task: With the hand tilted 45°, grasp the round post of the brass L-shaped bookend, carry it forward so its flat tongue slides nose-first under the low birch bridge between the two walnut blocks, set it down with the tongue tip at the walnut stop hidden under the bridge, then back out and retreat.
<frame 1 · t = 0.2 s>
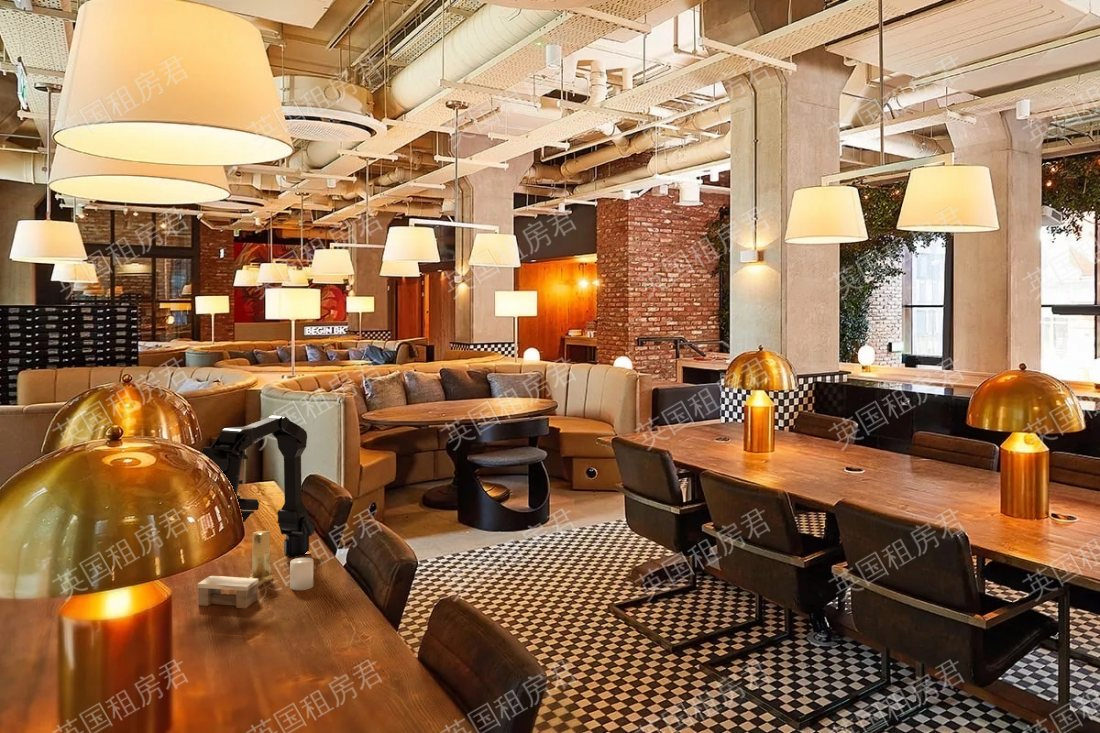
hand: (219, 534, 199), 15 cm above the table, fingers open, 9 cm apart
bridge: (244, 590, 200), on the table
white cylinder: (301, 586, 204), on the table
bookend: (261, 579, 209), on the table
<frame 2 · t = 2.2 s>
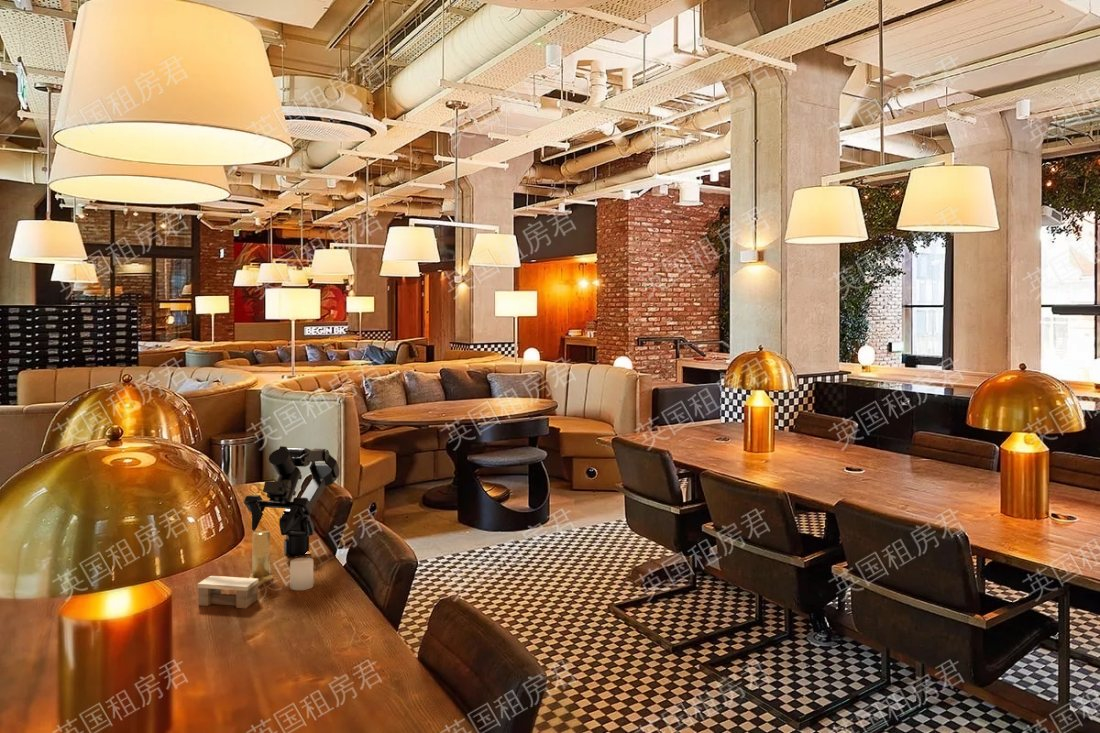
hand: (268, 531, 212), 12 cm above the table, fingers open, 9 cm apart
nothing on the table moved.
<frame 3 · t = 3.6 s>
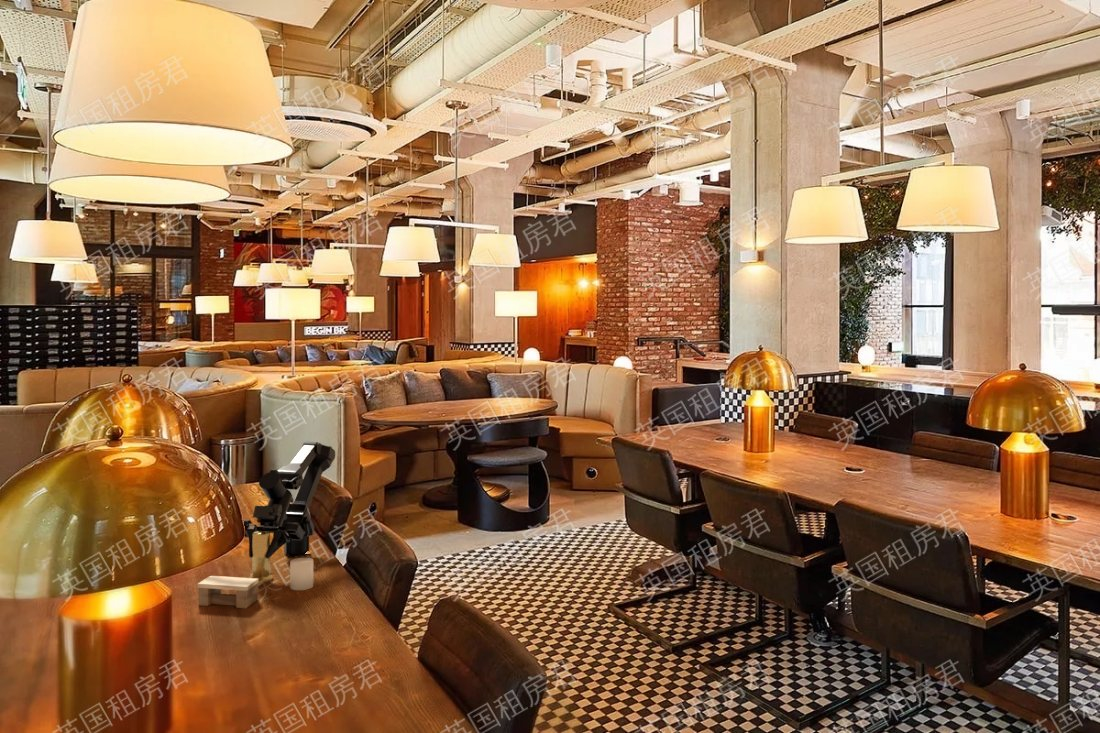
hand: (258, 557, 207), 7 cm above the table, fingers closed on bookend, 4 cm apart
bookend: (261, 579, 209), on the table, touching gripper
everything else where it was.
when the fingers open (7 cm above the table, at t = 7.0 s): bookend stays where it is, on the table.
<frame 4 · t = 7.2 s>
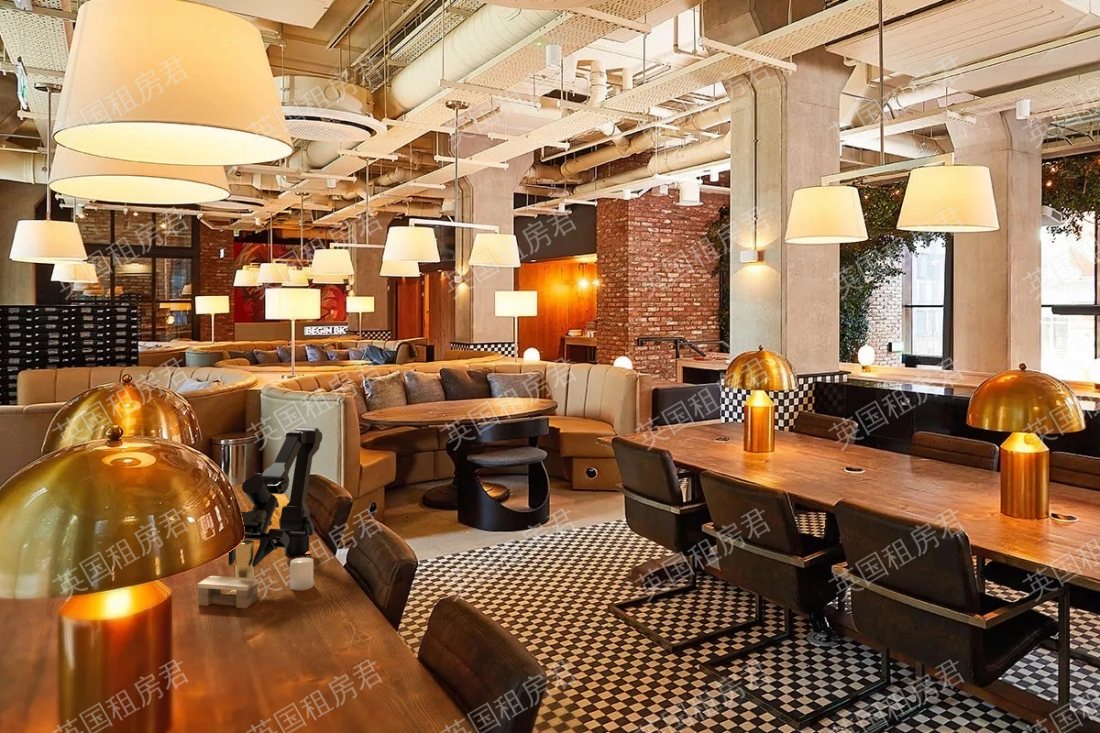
hand: (241, 565, 198), 7 cm above the table, fingers open, 6 cm apart
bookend: (244, 590, 200), on the table
everything else where it was.
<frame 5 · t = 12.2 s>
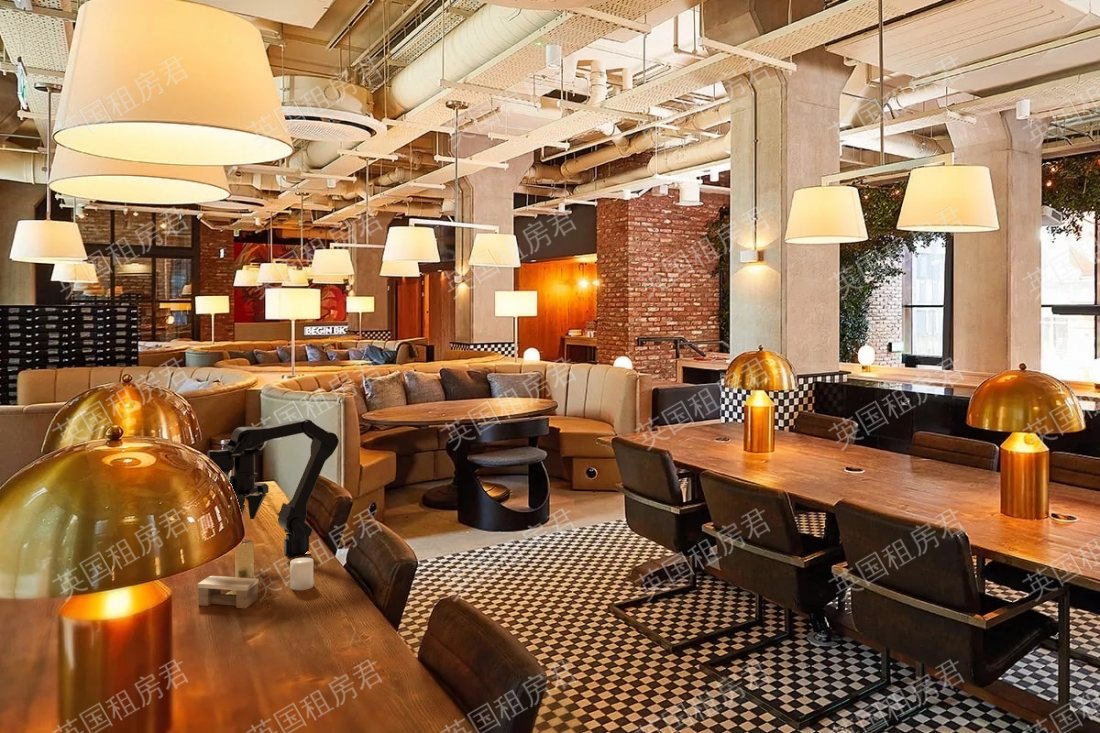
hand: (244, 523, 220), 12 cm above the table, fingers open, 9 cm apart
nothing on the table moved.
at the end: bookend 1.0 cm from the target spot on the bridge, point 0.0 cm above the bridge's base; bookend tilted 0°; the gripper is holding nothing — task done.
